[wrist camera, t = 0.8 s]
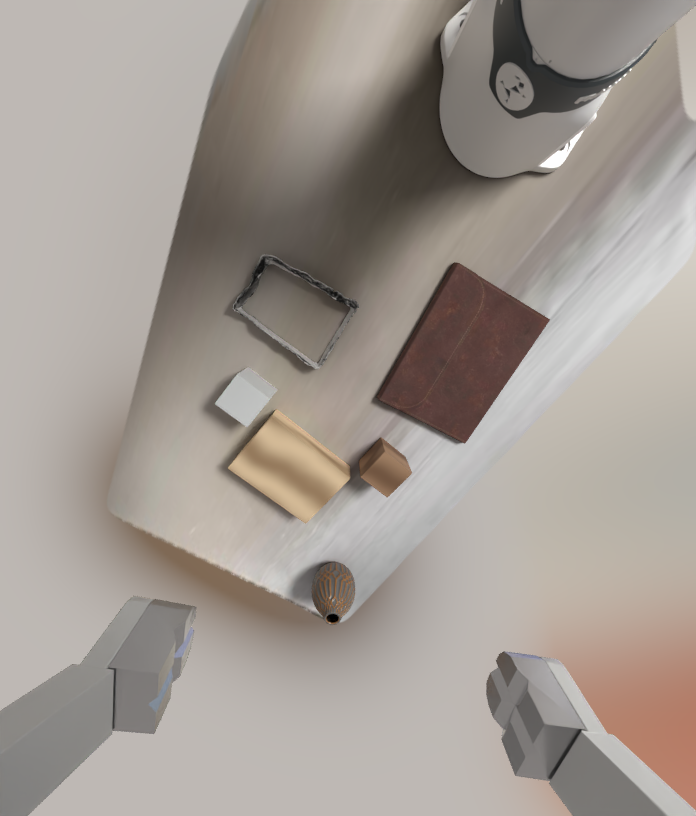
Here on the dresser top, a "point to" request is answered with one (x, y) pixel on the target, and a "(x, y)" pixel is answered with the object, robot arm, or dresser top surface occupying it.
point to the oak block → (290, 467)
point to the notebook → (461, 354)
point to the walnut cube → (384, 467)
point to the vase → (333, 591)
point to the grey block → (246, 396)
